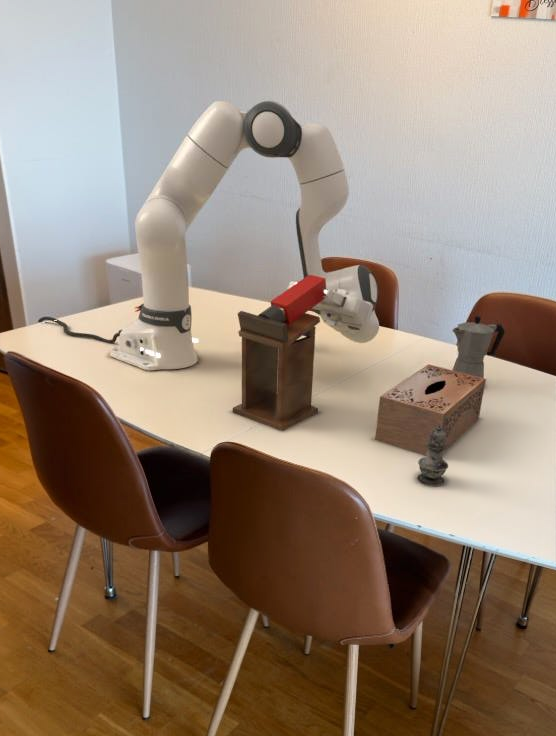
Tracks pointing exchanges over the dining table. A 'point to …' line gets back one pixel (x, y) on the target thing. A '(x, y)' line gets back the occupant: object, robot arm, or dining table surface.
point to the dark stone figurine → (433, 459)
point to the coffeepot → (475, 346)
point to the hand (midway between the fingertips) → (310, 288)
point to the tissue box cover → (429, 408)
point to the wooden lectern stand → (277, 369)
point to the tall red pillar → (296, 300)
